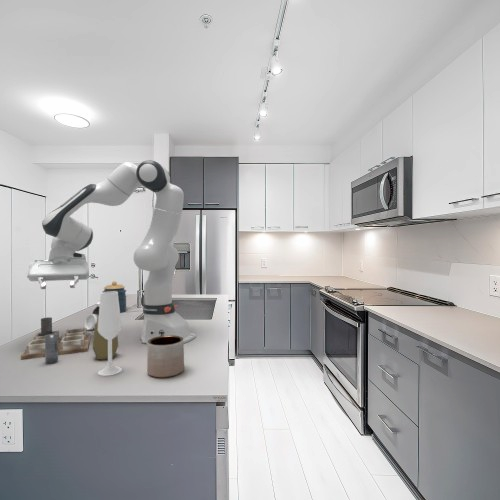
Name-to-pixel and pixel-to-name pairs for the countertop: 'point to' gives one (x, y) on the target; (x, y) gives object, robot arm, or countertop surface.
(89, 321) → the spread jar
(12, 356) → the countertop surface
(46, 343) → the pin
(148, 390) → the countertop surface
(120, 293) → the canister
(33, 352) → the wooden compartment tray
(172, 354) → the planter
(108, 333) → the champagne flute
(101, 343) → the squeeze bottle
